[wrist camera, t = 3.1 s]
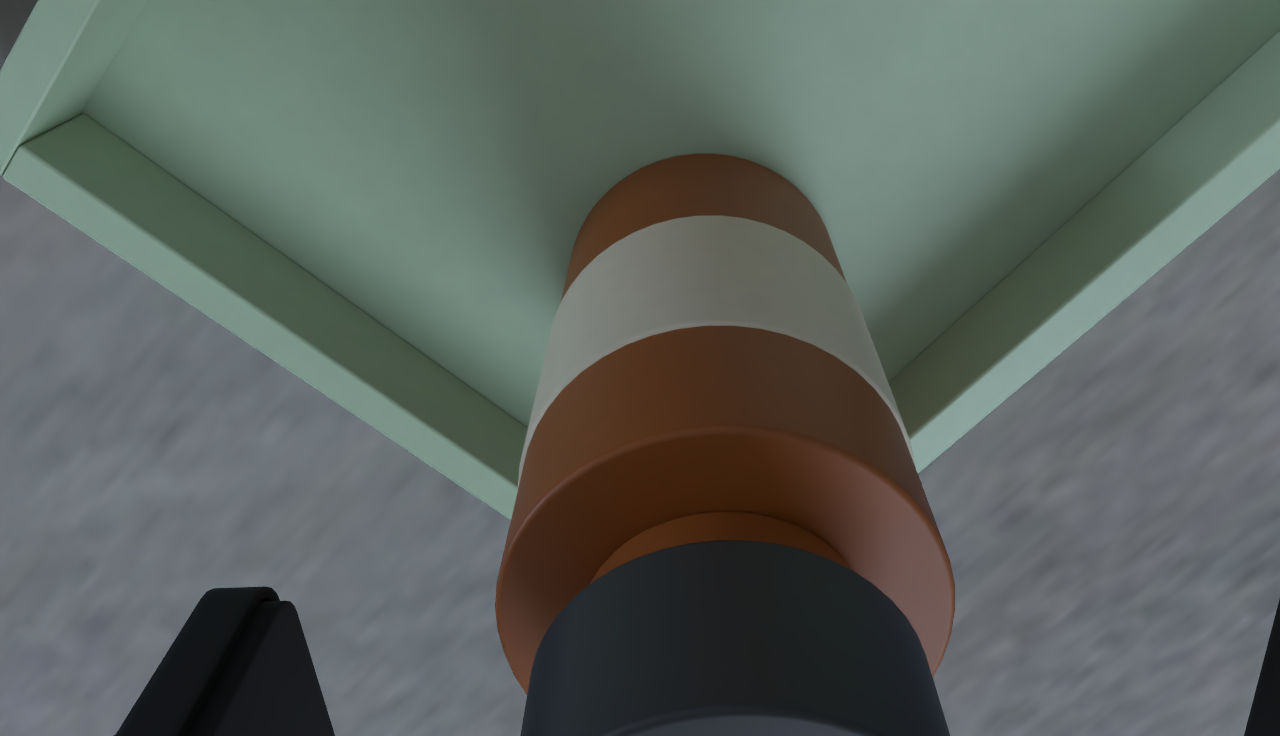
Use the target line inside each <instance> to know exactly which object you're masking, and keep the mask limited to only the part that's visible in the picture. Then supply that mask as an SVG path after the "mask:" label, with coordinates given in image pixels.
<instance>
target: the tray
mask: <svg viewBox="0 0 1280 736" xmlns="http://www.w3.org/2000/svg"><path fill="white" fill-rule="evenodd" d="M688 154H721V155H729V156H734V157H738V158H742V159H746V160H750V161H752V162H755V163H757V164H760V165H762V166H765V167H767V168H769V169H770V170H772V171H774V172H776V173H777V174H779V175H781V176H782V177H784V178H785V179H786V180H788V181H789V182H790V183H792V184H793V185H794V186H796V187H797V188H798V189H799V190H800V191H801V192H802V193H803V194H804V195H805V196H806V197H807V198H808V200H809V201H810V202H811V204H812V205H813V206H814V208H815V209H816V210H817V212H818V213H819V215H820V217H821V219H822V221H823V222H824V224H825V226H826V228H827V231H828V234H829V236H830V239H831V242H832V244H833V247H834V250H835V252H836V255H837V258H838V260H839V263H840V266H841V269H842V271H843V274H844V277H845V279H846V282H847V284H848V286H849V287H850V289H851V291H852V293H853V295H854V296H855V298H856V300H857V302H858V304H859V307H860V310H861V312H862V315H863V318H864V320H865V323H866V326H867V328H868V331H869V333H870V336H871V339H872V341H873V344H874V347H875V349H876V352H877V355H878V357H879V360H880V362H881V365H882V368H883V370H884V373H885V376H886V378H887V381H888V384H889V386H890V389H891V392H892V394H893V397H894V399H895V402H896V405H897V407H898V410H899V413H900V415H901V418H902V421H903V423H904V426H905V429H906V431H907V434H908V437H909V439H910V442H911V446H912V451H913V456H914V462H915V468H916V471H917V473H919V472H920V471H922V470H923V469H924V468H925V467H926V466H928V465H929V464H930V463H931V462H932V461H933V460H935V459H936V458H937V457H938V456H939V455H941V454H942V453H943V452H944V451H945V450H947V449H948V448H949V447H950V446H951V445H952V444H954V443H955V442H956V441H957V440H958V439H960V438H961V437H962V436H963V435H964V434H966V433H967V432H968V431H969V430H970V429H971V428H973V427H974V426H975V425H976V424H977V423H979V422H980V421H981V420H982V419H983V418H985V417H986V416H987V415H988V414H989V413H990V412H992V411H993V410H994V409H995V408H996V407H998V406H999V405H1000V404H1001V403H1002V402H1004V401H1005V400H1006V399H1007V398H1008V397H1009V396H1011V395H1012V394H1013V393H1014V392H1015V391H1017V390H1018V389H1019V388H1020V387H1021V386H1022V385H1024V384H1025V383H1026V382H1027V381H1028V380H1030V379H1031V378H1032V377H1033V376H1034V375H1036V374H1037V373H1038V372H1039V371H1040V370H1041V369H1043V368H1044V367H1045V366H1046V365H1047V364H1049V363H1050V362H1051V361H1052V360H1053V359H1055V358H1056V357H1057V356H1058V355H1059V354H1060V353H1062V352H1063V351H1064V350H1065V349H1066V348H1068V347H1069V346H1070V345H1071V344H1072V343H1074V342H1075V341H1076V340H1077V339H1078V338H1079V337H1081V336H1082V335H1083V334H1084V333H1085V332H1087V331H1088V330H1089V329H1090V328H1091V327H1093V326H1094V325H1095V324H1096V323H1097V322H1098V321H1100V320H1101V319H1102V318H1103V317H1104V316H1106V315H1107V314H1108V313H1109V312H1110V311H1111V310H1113V309H1114V308H1115V307H1116V306H1117V305H1119V304H1120V303H1121V302H1122V301H1123V300H1125V299H1126V298H1127V297H1128V296H1129V295H1130V294H1132V293H1133V292H1134V291H1135V290H1136V289H1138V288H1139V287H1140V286H1141V285H1142V284H1144V283H1145V282H1146V281H1147V280H1148V279H1149V278H1151V277H1152V276H1153V275H1154V274H1155V273H1157V272H1158V271H1159V270H1160V269H1161V268H1163V267H1164V266H1165V265H1166V264H1167V263H1168V262H1170V261H1171V260H1172V259H1173V258H1174V257H1176V256H1177V255H1178V254H1179V253H1180V252H1182V251H1183V250H1184V249H1185V248H1186V247H1187V246H1189V245H1190V244H1191V243H1192V242H1193V241H1195V240H1196V239H1197V238H1198V237H1199V236H1200V235H1202V234H1203V233H1204V232H1205V231H1206V230H1208V229H1209V228H1210V227H1211V226H1212V225H1214V224H1215V223H1216V222H1217V221H1218V220H1219V219H1221V218H1222V217H1223V216H1224V215H1225V214H1227V213H1228V212H1229V211H1230V210H1231V209H1233V208H1234V207H1235V206H1236V205H1237V204H1238V203H1240V202H1241V201H1242V200H1243V199H1244V198H1246V197H1247V196H1248V195H1249V194H1250V193H1252V192H1253V191H1254V190H1255V189H1256V188H1257V187H1259V186H1260V185H1261V184H1262V183H1263V182H1265V181H1266V180H1267V179H1268V178H1269V177H1271V176H1272V175H1273V174H1274V173H1275V172H1276V171H1278V170H1279V169H1280V0H38V1H37V3H36V5H35V7H34V9H33V11H32V12H31V14H30V16H29V18H28V20H27V22H26V24H25V25H24V27H23V29H22V31H21V33H20V35H19V37H18V38H17V40H16V42H15V44H14V46H13V48H12V50H11V51H10V53H9V55H8V57H7V59H6V61H5V63H4V64H3V66H2V68H1V70H0V175H2V174H3V178H4V179H5V180H6V181H8V182H9V183H11V184H12V185H14V186H15V187H17V188H18V189H20V190H21V191H23V192H24V193H26V194H27V195H29V196H30V197H32V198H33V199H35V200H36V201H38V202H39V203H41V204H42V205H43V206H45V207H46V208H48V209H49V210H51V211H52V212H54V213H55V214H57V215H58V216H60V217H61V218H63V219H64V220H66V221H67V222H69V223H70V224H72V225H73V226H75V227H76V228H78V229H79V230H81V231H82V232H84V233H85V234H87V235H88V236H89V237H91V238H92V239H94V240H95V241H97V242H98V243H100V244H101V245H103V246H104V247H106V248H107V249H109V250H110V251H112V252H113V253H115V254H116V255H118V256H119V257H121V258H122V259H124V260H125V261H127V262H128V263H130V264H131V265H133V266H134V267H135V268H137V269H138V270H140V271H141V272H143V273H144V274H146V275H147V276H149V277H150V278H152V279H153V280H155V281H156V282H158V283H159V284H161V285H162V286H164V287H165V288H167V289H168V290H170V291H171V292H173V293H174V294H176V295H177V296H179V297H180V298H181V299H183V300H184V301H186V302H187V303H189V304H190V305H192V306H193V307H195V308H196V309H198V310H199V311H201V312H202V313H204V314H205V315H207V316H208V317H210V318H211V319H213V320H214V321H216V322H217V323H219V324H220V325H222V326H223V327H225V328H226V329H227V330H229V331H230V332H232V333H233V334H235V335H236V336H238V337H239V338H241V339H242V340H244V341H245V342H247V343H248V344H250V345H251V346H253V347H254V348H256V349H257V350H259V351H260V352H262V353H263V354H265V355H266V356H268V357H269V358H271V359H272V360H273V361H275V362H276V363H278V364H279V365H281V366H282V367H284V368H285V369H287V370H288V371H290V372H291V373H293V374H294V375H296V376H297V377H299V378H300V379H302V380H303V381H305V382H306V383H308V384H309V385H311V386H312V387H314V388H315V389H316V390H318V391H319V392H321V393H322V394H324V395H325V396H327V397H328V398H330V399H331V400H333V401H334V402H336V403H337V404H339V405H340V406H342V407H343V408H345V409H346V410H348V411H349V412H351V413H352V414H354V415H355V416H357V417H358V418H360V419H361V420H362V421H364V422H365V423H367V424H368V425H370V426H371V427H373V428H374V429H376V430H377V431H379V432H380V433H382V434H383V435H385V436H386V437H388V438H389V439H391V440H392V441H394V442H395V443H397V444H398V445H400V446H401V447H403V448H404V449H406V450H407V451H408V452H410V453H411V454H413V455H414V456H416V457H417V458H419V459H420V460H422V461H423V462H425V463H426V464H428V465H429V466H431V467H432V468H434V469H435V470H437V471H438V472H440V473H441V474H443V475H444V476H446V477H447V478H449V479H450V480H452V481H453V482H454V483H456V484H457V485H459V486H460V487H462V488H463V489H465V490H466V491H468V492H469V493H471V494H472V495H474V496H475V497H477V498H478V499H480V500H481V501H483V502H484V503H486V504H487V505H489V506H490V507H492V508H493V509H495V510H496V511H498V512H499V513H500V514H502V515H503V516H505V517H506V518H508V519H509V520H511V518H512V514H513V509H514V505H515V501H516V496H517V492H518V478H519V465H520V460H521V456H522V452H523V447H524V443H525V439H526V435H527V430H528V426H529V422H530V417H531V413H532V409H533V405H534V400H535V396H536V392H537V388H538V383H539V379H540V375H541V370H542V366H543V362H544V358H545V353H546V349H547V345H548V341H549V336H550V332H551V328H552V323H553V320H554V318H555V315H556V313H557V310H558V308H559V305H560V303H561V299H562V294H563V290H564V285H565V281H566V277H567V272H568V268H569V263H570V259H571V255H572V250H573V246H574V243H575V240H576V238H577V235H578V233H579V230H580V228H581V226H582V224H583V223H584V221H585V219H586V217H587V215H588V214H589V213H590V211H591V210H592V209H593V207H594V206H595V205H596V203H597V202H598V201H599V200H600V199H601V198H602V197H603V196H604V195H605V194H606V193H607V192H608V191H609V190H610V189H611V188H612V187H613V186H614V185H616V184H617V183H618V182H620V181H621V180H622V179H623V178H625V177H626V176H628V175H630V174H632V173H633V172H635V171H637V170H639V169H640V168H642V167H645V166H647V165H650V164H652V163H654V162H657V161H660V160H664V159H667V158H671V157H675V156H681V155H688Z"/></svg>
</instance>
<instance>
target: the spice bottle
mask: <svg viewBox="0 0 1280 736" xmlns="http://www.w3.org/2000/svg"><path fill="white" fill-rule="evenodd" d="M495 609H496V619H497V628H498V633H499V636H500V640H501V643H502V647H503V651H504V653H505V656H506V658H507V660H508V662H509V665H510V667H511V669H512V671H513V673H514V676H515V677H516V679H517V680H518V682H519V683H520V685H521V686H522V688H523V689H524V691H525V693H526V694H527V700H526V706H525V712H524V718H523V724H522V730H521V736H950V734H949V730H948V727H947V724H946V720H945V717H944V714H943V711H942V707H941V704H940V701H939V697H938V694H937V691H936V687H935V684H934V681H933V676H934V674H935V672H936V670H937V668H938V666H939V664H940V662H941V660H942V658H943V656H944V653H945V650H946V647H947V644H948V641H949V638H950V635H951V630H952V624H953V618H954V612H955V584H954V579H953V574H952V568H951V563H950V560H949V557H948V554H947V551H946V549H945V546H944V543H943V541H942V538H941V535H940V533H939V530H938V527H937V525H936V522H935V519H934V516H933V514H932V511H931V508H930V506H929V503H928V500H927V498H926V495H925V492H924V489H923V487H922V484H921V481H920V479H919V476H918V473H917V471H916V468H915V462H914V456H913V451H912V446H911V442H910V439H909V437H908V434H907V431H906V429H905V426H904V423H903V421H902V418H901V415H900V413H899V410H898V407H897V405H896V402H895V399H894V397H893V394H892V392H891V389H890V386H889V384H888V381H887V378H886V376H885V373H884V370H883V368H882V365H881V362H880V360H879V357H878V355H877V352H876V349H875V347H874V344H873V341H872V339H871V336H870V333H869V331H868V328H867V326H866V323H865V320H864V318H863V315H862V312H861V310H860V307H859V304H858V302H857V300H856V298H855V296H854V295H853V293H852V291H851V289H850V287H849V286H848V284H847V282H846V279H845V277H844V274H843V271H842V269H841V266H840V263H839V260H838V258H837V255H836V252H835V250H834V247H833V244H832V242H831V239H830V236H829V234H828V231H827V228H826V226H825V224H824V222H823V221H822V219H821V217H820V215H819V213H818V212H817V210H816V209H815V208H814V206H813V205H812V204H811V202H810V201H809V200H808V198H807V197H806V196H805V195H804V194H803V193H802V192H801V191H800V190H799V189H798V188H797V187H796V186H794V185H793V184H792V183H790V182H789V181H788V180H786V179H785V178H784V177H782V176H781V175H779V174H777V173H776V172H774V171H772V170H770V169H769V168H767V167H765V166H762V165H760V164H757V163H755V162H752V161H750V160H746V159H742V158H738V157H734V156H729V155H721V154H688V155H681V156H675V157H671V158H667V159H664V160H660V161H657V162H654V163H652V164H650V165H647V166H645V167H642V168H640V169H639V170H637V171H635V172H633V173H632V174H630V175H628V176H626V177H625V178H623V179H622V180H621V181H620V182H618V183H617V184H616V185H614V186H613V187H612V188H611V189H610V190H609V191H608V192H607V193H606V194H605V195H604V196H603V197H602V198H601V199H600V200H599V201H598V202H597V203H596V205H595V206H594V207H593V209H592V210H591V211H590V213H589V214H588V215H587V217H586V219H585V221H584V223H583V224H582V226H581V228H580V230H579V233H578V235H577V238H576V240H575V243H574V246H573V250H572V255H571V259H570V263H569V268H568V272H567V277H566V281H565V285H564V290H563V294H562V299H561V303H560V305H559V308H558V310H557V313H556V315H555V318H554V320H553V323H552V328H551V332H550V336H549V341H548V345H547V349H546V353H545V358H544V362H543V366H542V370H541V375H540V379H539V383H538V388H537V392H536V396H535V400H534V405H533V409H532V413H531V417H530V422H529V426H528V430H527V435H526V439H525V443H524V447H523V452H522V456H521V460H520V465H519V478H518V492H517V496H516V501H515V505H514V509H513V514H512V518H511V523H510V527H509V531H508V536H507V540H506V545H505V549H504V553H503V558H502V562H501V567H500V571H499V575H498V580H497V586H496V602H495Z"/></svg>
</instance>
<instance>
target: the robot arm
mask: <svg viewBox="0 0 1280 736" xmlns="http://www.w3.org/2000/svg"><path fill="white" fill-rule="evenodd" d="M114 736H335V734H334V731H333V728H332V725H331V721H330V718H329V715H328V711H327V708H326V705H325V702H324V698H323V695H322V692H321V689H320V685H319V682H318V679H317V676H316V672H315V669H314V666H313V663H312V659H311V656H310V653H309V649H308V646H307V643H306V640H305V636H304V633H303V630H302V627H301V623H300V620H299V617H298V614H297V611H296V609H295V606H294V605H293V604H292V603H291V602H290V601H280V600H279V597H278V595H277V593H276V592H275V591H274V590H273V589H272V588H270V587H242V588H214V589H211V590H209V591H207V592H206V593H205V594H204V596H203V597H202V598H201V599H200V601H199V602H198V604H197V606H196V607H195V609H194V610H193V612H192V614H191V615H190V617H189V618H188V620H187V622H186V623H185V625H184V626H183V628H182V630H181V631H180V633H179V634H178V636H177V638H176V639H175V641H174V642H173V644H172V646H171V647H170V649H169V650H168V652H167V654H166V655H165V657H164V658H163V660H162V662H161V663H160V665H159V666H158V668H157V670H156V671H155V673H154V674H153V676H152V677H151V679H150V681H149V682H148V684H147V685H146V687H145V689H144V690H143V692H142V693H141V695H140V697H139V698H138V700H137V701H136V703H135V705H134V706H133V708H132V709H131V711H130V713H129V714H128V716H127V717H126V719H125V721H124V722H123V724H122V725H121V727H120V729H119V730H118V732H117V733H116V735H114ZM1244 736H1280V600H1279V604H1278V608H1277V611H1276V615H1275V619H1274V623H1273V627H1272V631H1271V634H1270V638H1269V642H1268V646H1267V650H1266V654H1265V657H1264V661H1263V665H1262V669H1261V673H1260V677H1259V681H1258V684H1257V688H1256V692H1255V696H1254V700H1253V704H1252V707H1251V711H1250V715H1249V719H1248V723H1247V727H1246V730H1245V734H1244Z"/></svg>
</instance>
